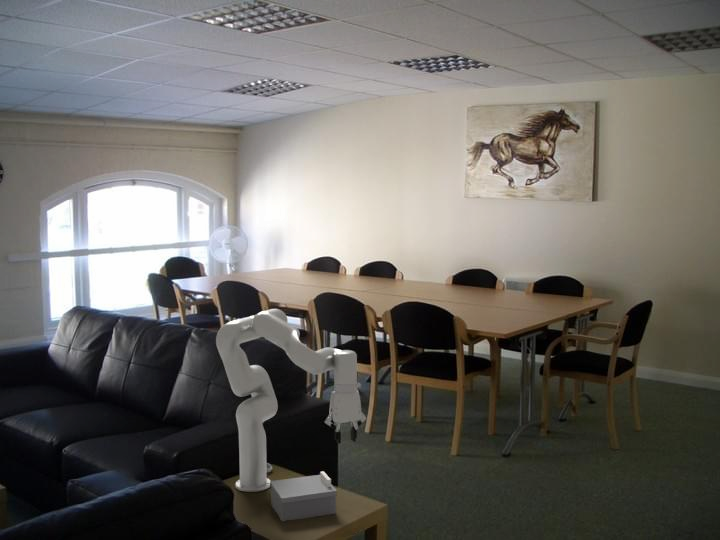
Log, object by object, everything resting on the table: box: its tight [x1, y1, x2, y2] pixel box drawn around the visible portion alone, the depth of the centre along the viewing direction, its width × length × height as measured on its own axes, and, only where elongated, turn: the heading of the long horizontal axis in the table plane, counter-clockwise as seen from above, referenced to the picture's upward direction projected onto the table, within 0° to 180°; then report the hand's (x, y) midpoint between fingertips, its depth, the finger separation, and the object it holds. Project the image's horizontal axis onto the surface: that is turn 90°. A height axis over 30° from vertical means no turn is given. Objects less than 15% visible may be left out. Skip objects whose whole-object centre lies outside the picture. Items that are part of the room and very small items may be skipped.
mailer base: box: [270, 485, 337, 522], centre depth 247 cm, size 14×18×7 cm
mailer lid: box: [270, 470, 338, 503], centre depth 246 cm, size 16×18×4 cm
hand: (345, 440), depth 250 cm, fingers open, 4 cm apart
